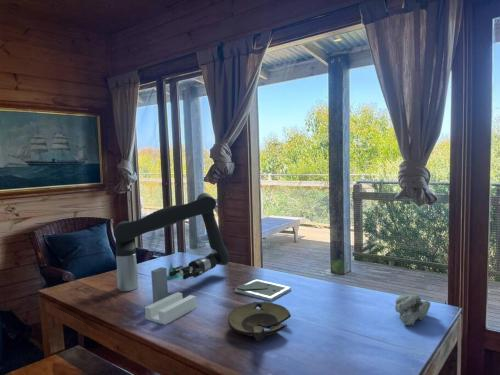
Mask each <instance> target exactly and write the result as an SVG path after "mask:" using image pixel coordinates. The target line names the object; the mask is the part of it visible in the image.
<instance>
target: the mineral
mask: <svg viewBox="0 0 500 375" xmlns="http://www.w3.org/2000/svg"><path fill="white" fill-rule="evenodd" d="M394 303H395V306H394V309H395V312H396V313H399V315H401V316H400V320H401V322H402V323H403V324H405V325H406V326H407V325H408V326H414V325H415V322H416V321H417V320H419V321H421V320H424V319H425V316H426V315H427V314H428V312H429V309H430V307H431V302H430V301H428V300H422V298H421V296H419V295H417V294H410V293H409V294H407V295H404V294H401V295H399V296H398V297H397V298H396V299H395V301H394Z"/></svg>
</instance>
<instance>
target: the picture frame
mask: <svg viewBox="0 0 500 375" xmlns="http://www.w3.org/2000/svg"><path fill="white" fill-rule="evenodd" d="M234 288H235V289H234V292H235V293H238V294H241V295H246V296H248V297H249V296H250V297H253V298H256V299H260V300H264V301H266V302H273V301H275V300H277V299H278V298H280V297H282V296H283V295H285V294H287V293H289V292H291V291H292V287H290V286H288V285H287V286H286V285H284V284H283V285H282V284H279V283H274V282H270V281H266V280H261V279H257V278H256V279H254V280H251V281H249V282H247V283H244V284H240V285H237V286H235V287H234Z"/></svg>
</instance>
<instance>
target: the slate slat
mask: <svg viewBox="0 0 500 375" xmlns="http://www.w3.org/2000/svg"><path fill="white" fill-rule="evenodd" d="M167 271H168V269H167V267H159V268H156V269H153V270H151V271H150V273H151V276H150V277H151V287H152V288H151V289H152V300H153V301H152V304H153V303H155V302H157V301H159V300H162V299H164V298H166V297H168V296H169V291H168V290H169V288H168V280H167V276H168V274H167V273H168V272H167Z"/></svg>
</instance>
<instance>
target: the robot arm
mask: <svg viewBox="0 0 500 375" xmlns="http://www.w3.org/2000/svg"><path fill="white" fill-rule="evenodd" d="M216 207H217V202H216V199H215V198H214V197H213V196H212V195H211V194H209V193H207V192H202V193H200V194H198V196H197V197H196V200H194V201H191V202H188V203H183V204H175V205H169V206H165V207H163V208H160V209H158V210H156V211H153V212H151V213H149V214H147V215H146V216H144V217H141V218H140V219H136V220H132V221H128V220H122V221H120V222H118V223H117V224H116V225H115V227H114V230H113V237H114V238H115V257H116V258H115V260H116V270H115V272H116V275H115V276H116V285H117V286H116V288H117V289H118V291H119V292H130V291H134V290H136V289H138V287H139V280H138V264H137V252H136V251H137V250H136V247H137V246H136V238H137V237H140V236H142V235H144V234H147V233H151V232H153V231H157V230H160V229H164V228H167V227H170V226H172V225H175V224H178V223H180V222H182V221H185V220H188V219H190V218H193V217H196V216H202V217H201V218H202V219H203V224H204V226H205V231H206V232H205V233H206V235H207V241H208V244H209V247H210V249H211V250H213V251H212V252H211V253H209V254H207V255H206V256H204V257H199V258H197V259H194V260H192V261H189V263H188V265H185V266H183V265H179V266H175V268H173V271H171V272H170V273H169V272H168V274H169V275H170V277H172V276H174V275H178V274H180V275H183V278H182V280H186V279H190V278H194V279H196V278H197V277H200V276H202V275H203V274H204V273H206V272H208V271H210V270H213V269H214V268H216V267H217V266H226V265H228V264H229V263H230V254H229V251H228V249H227V248H226V245H225V244H224V243H223V237H222V235H221V231H220V227H219V225H218V223H217V220H216V217H215V213H214V211H215V209H216ZM182 271H183V273H182ZM178 272H179V273H178Z"/></svg>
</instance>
